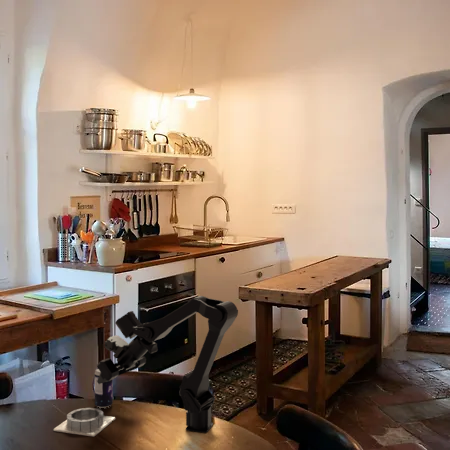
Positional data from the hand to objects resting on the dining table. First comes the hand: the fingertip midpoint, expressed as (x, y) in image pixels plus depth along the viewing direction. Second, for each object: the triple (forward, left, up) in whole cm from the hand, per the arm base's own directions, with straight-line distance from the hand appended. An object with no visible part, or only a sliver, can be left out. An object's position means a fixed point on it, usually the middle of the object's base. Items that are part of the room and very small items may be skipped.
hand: (107, 378), depth 187 cm
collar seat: (0, +15, -9) cm, 17 cm away
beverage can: (+2, 0, -10) cm, 10 cm away
